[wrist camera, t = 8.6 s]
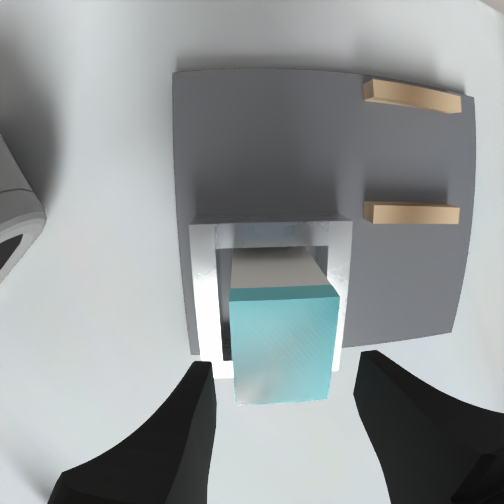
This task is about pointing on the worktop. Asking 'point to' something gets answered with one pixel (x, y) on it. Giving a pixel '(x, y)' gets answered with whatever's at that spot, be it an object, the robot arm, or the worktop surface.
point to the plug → (281, 326)
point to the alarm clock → (16, 213)
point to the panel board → (330, 184)
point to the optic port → (261, 235)
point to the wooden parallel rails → (423, 100)
